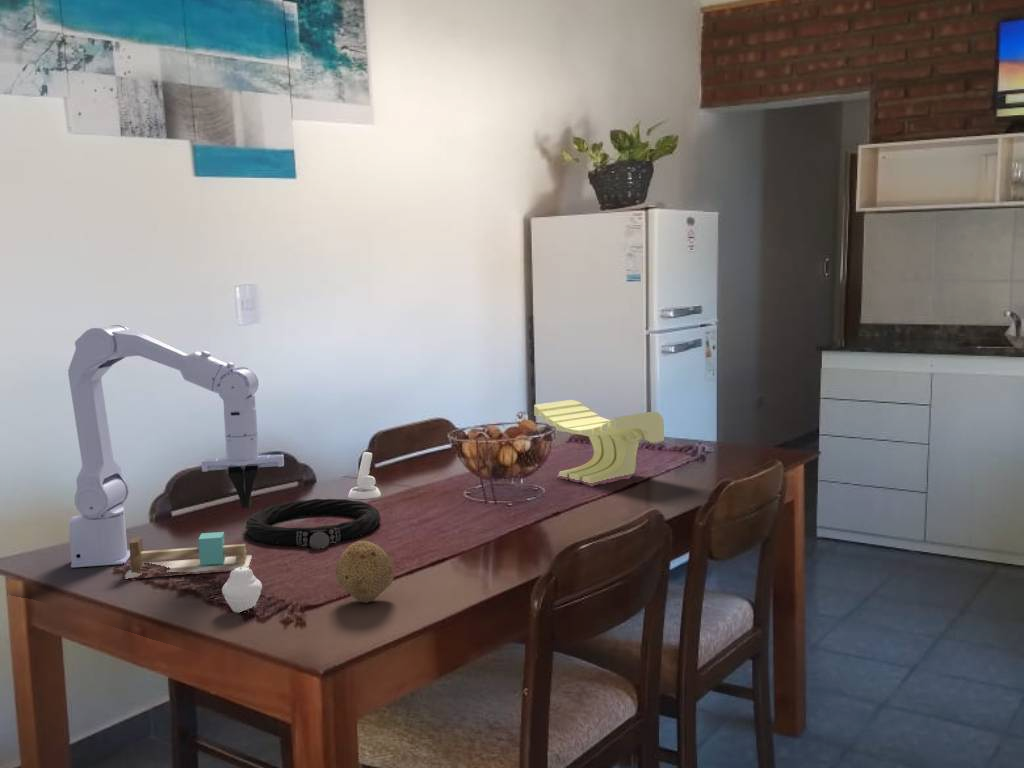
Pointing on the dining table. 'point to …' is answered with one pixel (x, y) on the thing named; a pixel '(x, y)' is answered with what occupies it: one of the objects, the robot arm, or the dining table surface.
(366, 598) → the natural sponge
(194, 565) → the rail
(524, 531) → the dining table surface
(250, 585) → the white faceted lump
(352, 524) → the cable lock
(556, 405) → the slatted curved stool
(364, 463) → the white joystick
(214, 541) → the slider
